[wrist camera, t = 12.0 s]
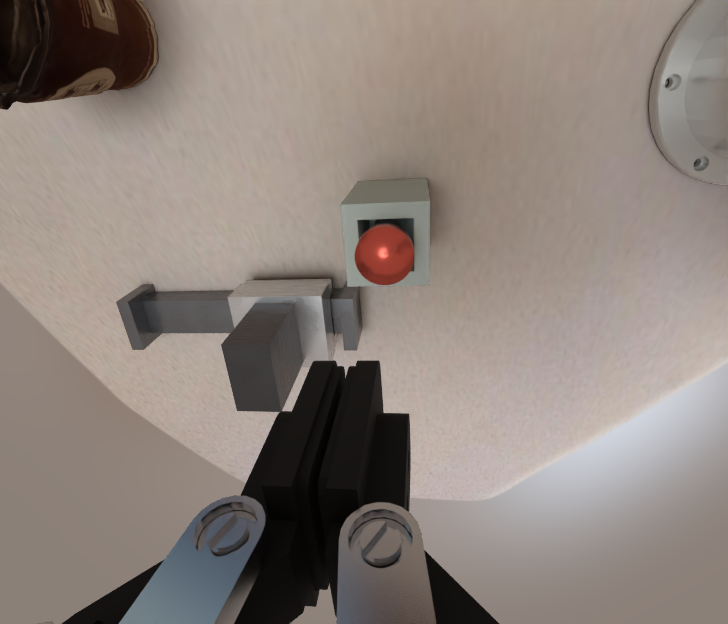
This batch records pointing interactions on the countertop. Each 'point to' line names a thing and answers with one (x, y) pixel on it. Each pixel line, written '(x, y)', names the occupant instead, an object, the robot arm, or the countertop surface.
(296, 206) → the countertop surface
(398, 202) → the grey square housing
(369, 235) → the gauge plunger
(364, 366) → the robot arm
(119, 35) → the coffee cup
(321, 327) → the carriage
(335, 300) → the rail
